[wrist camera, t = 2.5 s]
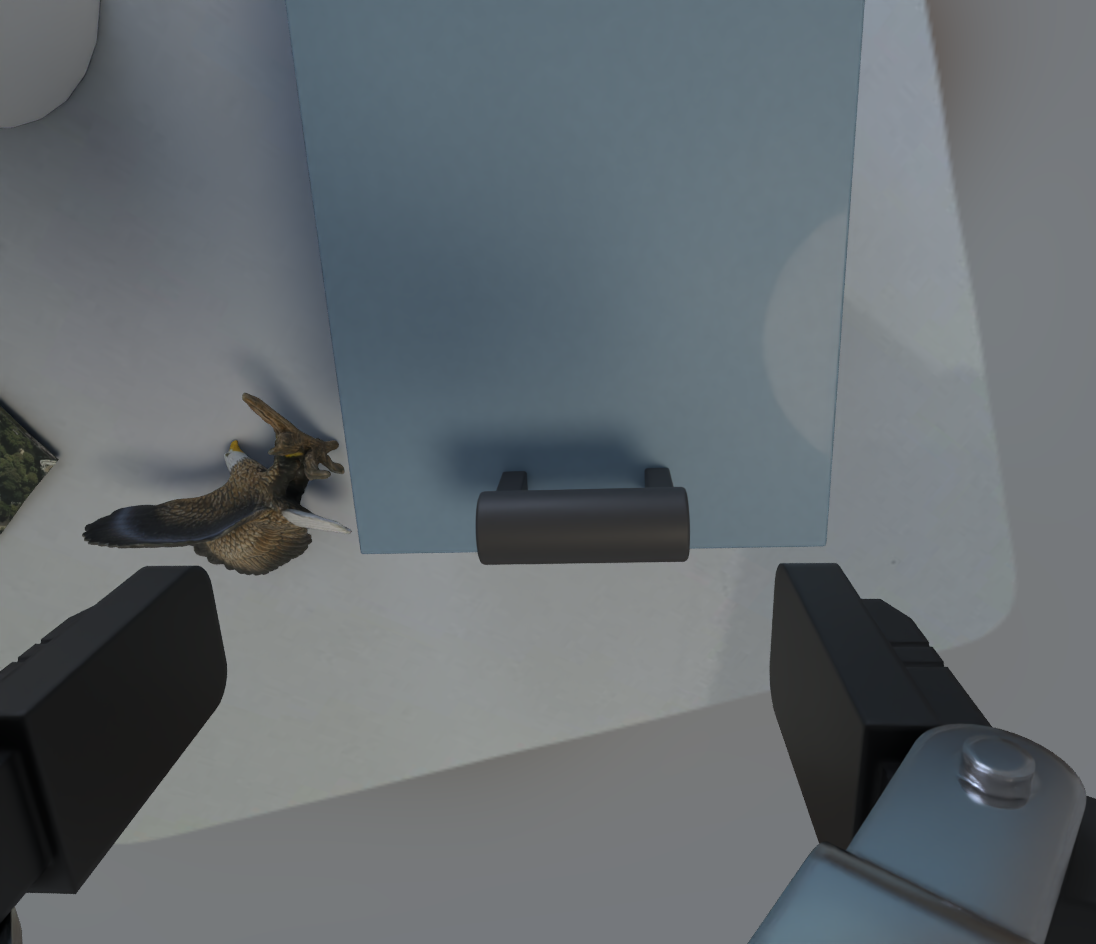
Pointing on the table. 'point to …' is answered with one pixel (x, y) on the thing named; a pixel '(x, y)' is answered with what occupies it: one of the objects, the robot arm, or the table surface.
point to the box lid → (583, 267)
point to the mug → (43, 55)
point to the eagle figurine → (237, 507)
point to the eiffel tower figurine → (19, 466)
